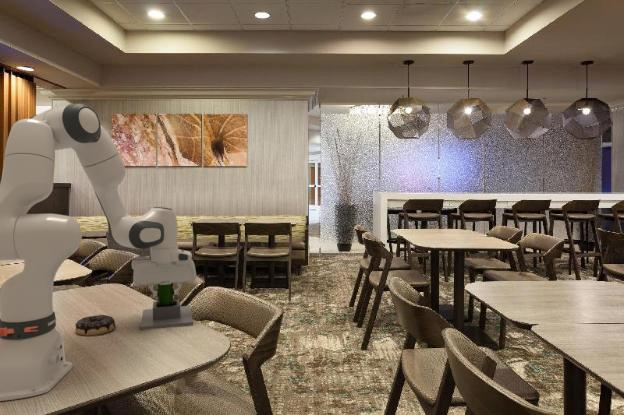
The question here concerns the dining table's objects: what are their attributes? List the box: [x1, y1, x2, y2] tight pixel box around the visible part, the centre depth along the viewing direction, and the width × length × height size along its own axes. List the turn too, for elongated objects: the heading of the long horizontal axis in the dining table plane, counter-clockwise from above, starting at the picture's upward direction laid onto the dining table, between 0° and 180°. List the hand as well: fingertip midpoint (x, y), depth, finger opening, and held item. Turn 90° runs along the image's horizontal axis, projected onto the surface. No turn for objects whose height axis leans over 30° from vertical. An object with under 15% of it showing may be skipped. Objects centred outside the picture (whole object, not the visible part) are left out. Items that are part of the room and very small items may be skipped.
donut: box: [74, 314, 116, 336], centre depth 150 cm, size 11×12×4 cm
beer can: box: [156, 281, 175, 307], centre depth 162 cm, size 5×5×12 cm
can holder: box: [139, 299, 194, 331], centre depth 162 cm, size 20×16×5 cm
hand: (165, 296), depth 162 cm, fingers open, 5 cm apart
